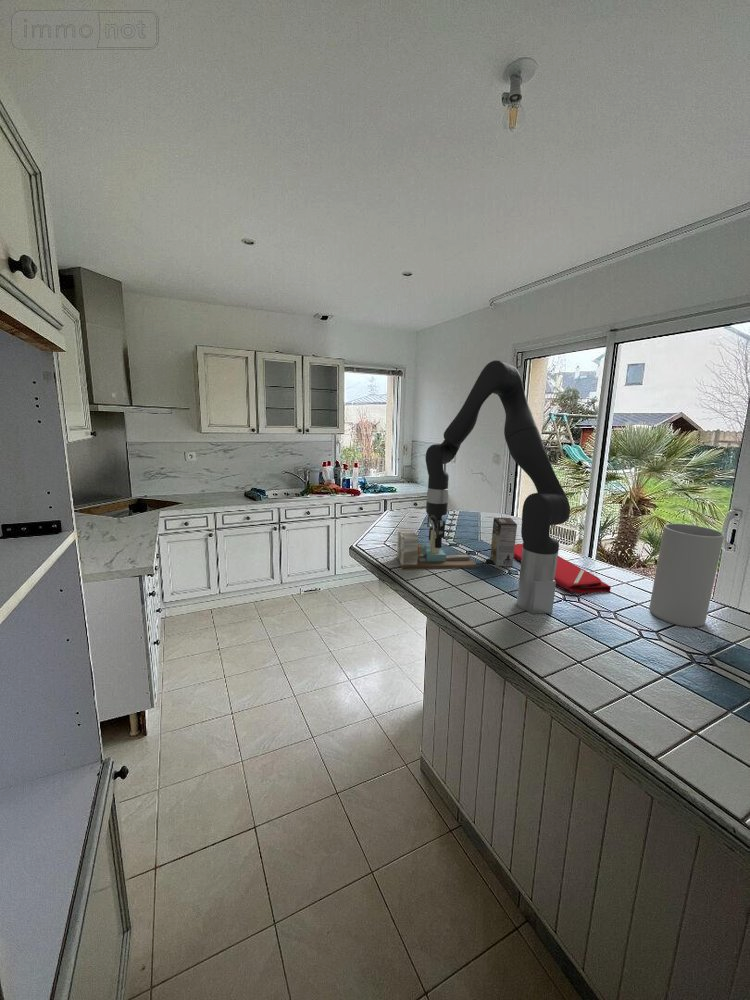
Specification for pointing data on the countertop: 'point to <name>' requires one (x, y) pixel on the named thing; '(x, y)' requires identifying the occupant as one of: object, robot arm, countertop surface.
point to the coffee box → (503, 541)
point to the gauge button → (419, 549)
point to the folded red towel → (572, 576)
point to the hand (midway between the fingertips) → (434, 543)
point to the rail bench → (412, 560)
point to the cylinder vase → (685, 574)
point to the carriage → (433, 551)
